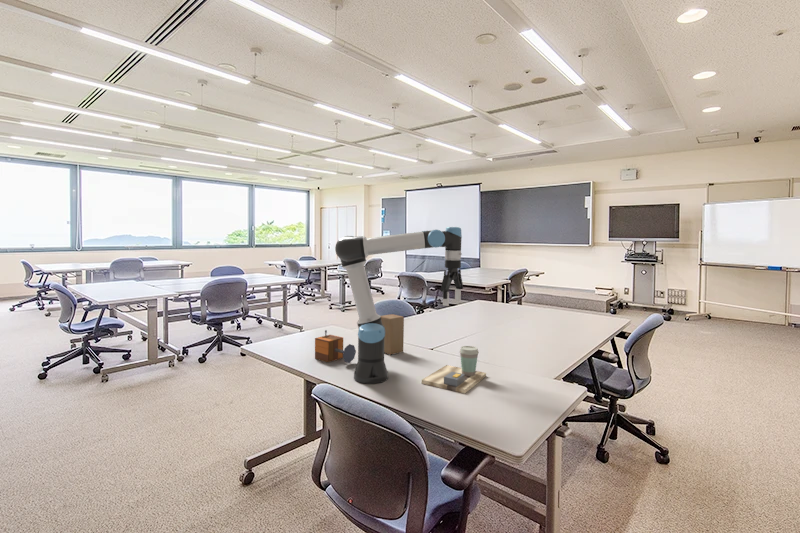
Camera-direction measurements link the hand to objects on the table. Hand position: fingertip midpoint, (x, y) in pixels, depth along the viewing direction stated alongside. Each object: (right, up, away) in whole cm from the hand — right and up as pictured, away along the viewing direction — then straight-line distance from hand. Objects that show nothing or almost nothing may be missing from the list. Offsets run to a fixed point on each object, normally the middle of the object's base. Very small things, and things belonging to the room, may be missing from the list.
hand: (451, 304), depth 186 cm
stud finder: (-2, -31, -21) cm, 38 cm away
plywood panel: (0, -33, -13) cm, 35 cm away
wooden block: (-30, -30, +30) cm, 52 cm away
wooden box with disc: (-58, -30, +13) cm, 67 cm away
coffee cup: (+6, -31, -10) cm, 33 cm away
